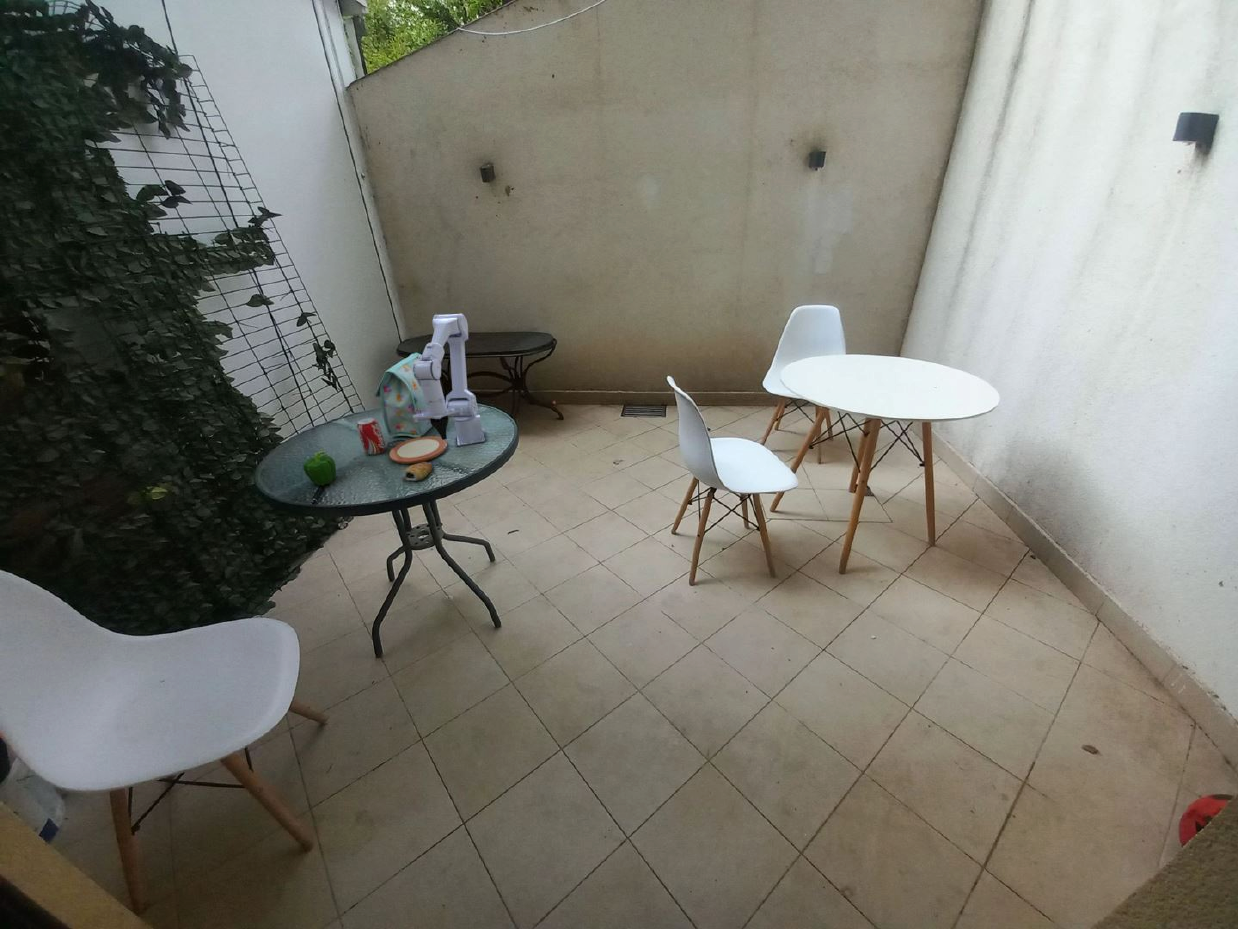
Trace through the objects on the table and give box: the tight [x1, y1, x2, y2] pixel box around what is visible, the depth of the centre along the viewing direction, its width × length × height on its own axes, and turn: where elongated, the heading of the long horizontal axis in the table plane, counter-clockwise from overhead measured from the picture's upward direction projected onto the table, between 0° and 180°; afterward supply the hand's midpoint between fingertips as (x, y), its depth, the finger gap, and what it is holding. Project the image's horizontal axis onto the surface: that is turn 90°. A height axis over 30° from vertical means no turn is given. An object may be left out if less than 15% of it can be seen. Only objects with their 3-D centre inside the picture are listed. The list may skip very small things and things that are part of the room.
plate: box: [389, 436, 448, 465], centre depth 167 cm, size 19×19×2 cm
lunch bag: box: [374, 352, 433, 439], centre depth 181 cm, size 23×16×27 cm
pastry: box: [402, 461, 433, 482], centre depth 152 cm, size 9×7×4 cm
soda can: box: [356, 416, 387, 456], centre depth 167 cm, size 7×7×12 cm
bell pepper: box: [302, 450, 337, 486], centre depth 150 cm, size 8×8×10 cm
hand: (444, 438), depth 154 cm, fingers closed
